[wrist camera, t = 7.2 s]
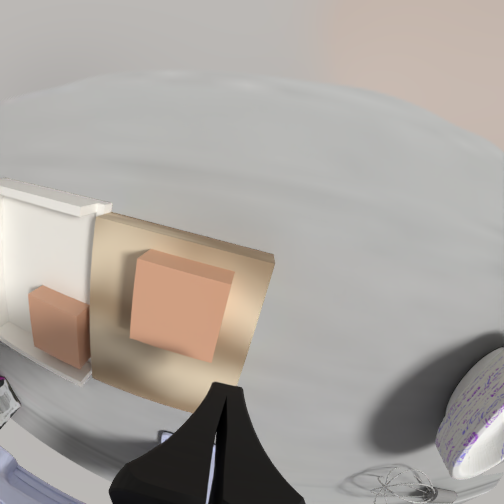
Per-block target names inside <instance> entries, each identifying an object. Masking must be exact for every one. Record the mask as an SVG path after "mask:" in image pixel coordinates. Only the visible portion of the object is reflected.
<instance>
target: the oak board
mask: <svg viewBox="0 0 504 504" xmlns="http://www.w3.org/2000/svg"><path fill="white" fill-rule="evenodd" d="M150 249H154V250H157V251H161V252H164V253H168V254H172V255H175V256H179V257H182V258H186V259H190V260H193V261H197V262H201V263H204V264H208V265H212V266H216V267H219V268H223V269H227V270H231V271H235V274H234V277H233V281H232V285H231V289H230V293H229V297H228V301H227V305H226V309H225V313H224V317H223V321H222V325H221V329H220V333H219V337H218V341H217V345H216V348H215V352H214V356H213V360H212V363H209V362H206V361H202V360H198V359H195V358H191V357H188V356H184V355H181V354H177V353H174V352H171V351H168V350H164V349H161V348H158V347H155V346H152V345H149V344H146V343H143V342H140V341H137V340H134V339H131V338H130V325H131V312H132V300H133V290H134V281H135V273H136V265H137V258H139V257H140V256H141V255H143V254H144V253H146V252H147V251H148V250H150ZM274 265H275V261H274V254H270V253H266V252H262V251H259V250H255V249H251V248H247V247H243V246H240V245H236V244H232V243H228V242H224V241H221V240H217V239H213V238H209V237H205V236H201V235H198V234H194V233H190V232H186V231H182V230H178V229H175V228H171V227H167V226H163V225H159V224H155V223H152V222H148V221H144V220H140V219H136V218H132V217H128V216H125V215H121V214H117V213H113V212H110V213H106V214H103V215H99V216H96V220H95V229H94V238H93V249H92V261H91V279H90V348H91V365H92V378H94V379H97V380H99V381H101V382H104V383H106V384H108V385H111V386H113V387H116V388H118V389H121V390H123V391H126V392H129V393H131V394H134V395H137V396H140V397H142V398H145V399H148V400H151V401H154V402H157V403H160V404H163V405H167V406H170V407H173V408H176V409H180V410H183V411H187V412H191V413H194V412H195V411H196V409H197V408H198V407H199V405H200V404H201V402H202V401H203V400H204V398H205V396H206V395H207V393H208V391H209V389H210V387H211V384H212V382H219V383H224V384H228V385H233V386H237V384H238V381H239V377H240V374H241V371H242V368H243V365H244V362H245V359H246V356H247V353H248V350H249V346H250V343H251V340H252V337H253V334H254V331H255V327H256V324H257V321H258V318H259V315H260V311H261V308H262V305H263V302H264V298H265V295H266V292H267V289H268V285H269V282H270V279H271V275H272V272H273V269H274Z"/></svg>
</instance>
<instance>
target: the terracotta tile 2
mask: <svg viewBox="0 0 504 504" xmlns="http://www.w3.org/2000/svg"><path fill="white" fill-rule="evenodd" d="M234 274H235V271H231V270H227V269H223V268H219V267H216V266H212V265H208V264H204V263H201V262H197V261H193V260H190V259H186V258H182V257H179V256H175V255H172V254H168V253H164V252H161V251H157V250H154V249H150V250H148V251H147V252H146V253H144V254H143V255H141V256H140V257H139V258H137V265H136V273H135V281H134V290H133V300H132V312H131V325H130V338H131V339H134V340H137V341H140V342H143V343H146V344H149V345H152V346H155V347H158V348H161V349H164V350H168V351H171V352H174V353H177V354H181V355H184V356H188V357H191V358H195V359H198V360H202V361H206V362H209V363H212V360H213V356H214V352H215V348H216V345H217V341H218V337H219V333H220V329H221V325H222V321H223V317H224V313H225V309H226V305H227V301H228V297H229V293H230V289H231V285H232V281H233V277H234Z"/></svg>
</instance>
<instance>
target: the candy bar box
mask: <svg viewBox="0 0 504 504" xmlns="http://www.w3.org/2000/svg"><path fill="white" fill-rule="evenodd" d="M20 407H21V404H20V403H19V401H18V399H17V398H16V396H15V394H14V393H13V391H12V389H11V387H10V385H9V384H8V382H7V380H6V379H5V378H4V377H0V429H1V428H2V427H3V425H4V424H5V423H6V422H7V421H8V420H9V419H10V418H11V416H12V415H13V414H14V413H15V412H16V411H17V410H18V409H19V408H20Z"/></svg>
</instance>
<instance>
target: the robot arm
mask: <svg viewBox="0 0 504 504" xmlns="http://www.w3.org/2000/svg"><path fill="white" fill-rule="evenodd" d="M216 432H217V433H216ZM215 435H216V445H214V440H215ZM109 495H110V498H111V500H112V503H113V504H305V501H304V498H303V497H302V496H301V495H300V494H299V493H298V492H296V491H295V490H294V489H293V488H292V487H291V486H290V484H289V483H288V482H287V481H286V480H285V479H284V478H283V477H282V475H281V474H280V473H279V471H278V470H277V469H276V467H275V466H274V465H273V463H272V462H271V460H270V459H269V457H268V456H267V454H266V452H265V451H264V449H263V447H262V445H261V443H260V441H259V439H258V437H257V435H256V433H255V430H254V428H253V425H252V423H251V420H250V417H249V414H248V411H247V407H246V403H245V399H244V393H243V389H242V387H238V386H233V385H228V384H224V383H219V382H212V384H211V387H210V389H209V391H208V393H207V395H206V396H205V398H204V400H203V401H202V402H201V404H200V405H199V407H198V408H197V409H196V411H195V412H194V413H193V414H192V415H191V416H190V418H189V419H188V420H187V421H186V422H185V423H184V424H183V425H182V426H181V427H180V428H179V429H178V430H177V431H176V432H175V433H174V434H171V433H167V432H164V433H162V436H161V444H160V445H159V446H157V447H155V448H154V449H152V450H151V451H149V452H148V453H146V454H144V455H143V456H141V457H139V458H137V459H135V460H133V461H131V462H129V463H127V464H126V465H125V466H124V467H123V468H122V469H121V470H120V471H119V473H118V474H117V475H116V477H115V478H114V480H113V482H112V484H111V486H110V489H109ZM0 504H86V503H83V502H81V501H79V500H77V499H75V498H73V497H71V496H69V495H68V494H66V493H63V492H62V491H60V490H58V489H56V488H55V487H53V486H51V485H50V484H48V483H46V482H44V481H43V480H41V479H40V478H38V477H36V476H35V475H33V474H32V473H30V472H29V471H27V470H26V469H24V468H23V467H21V466H20V465H18V463H17V461H16V459H15V458H14V457H13V456H12V455H11V454H10V453H9V452H8V451H6V450H5V449H4V448H2V447H1V446H0Z"/></svg>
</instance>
